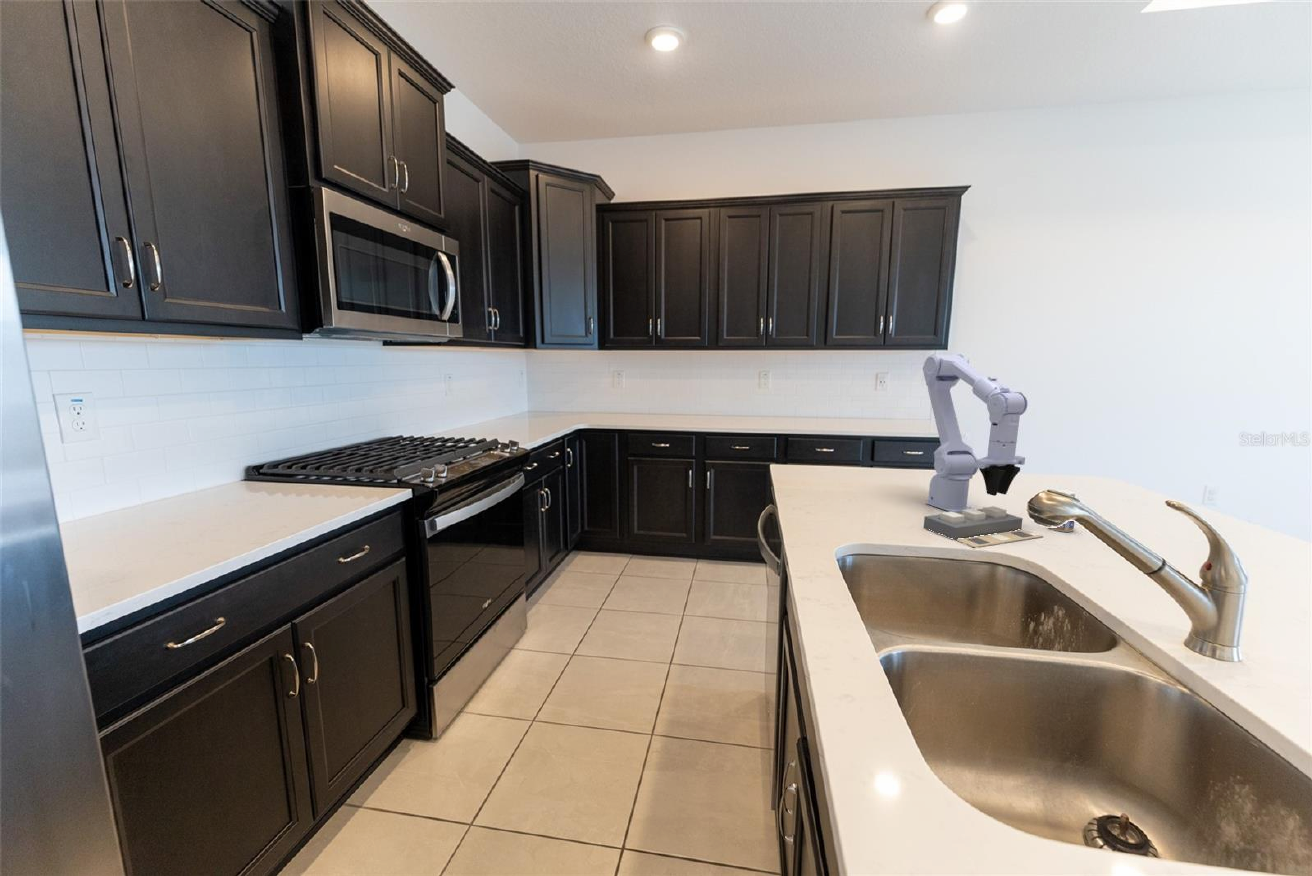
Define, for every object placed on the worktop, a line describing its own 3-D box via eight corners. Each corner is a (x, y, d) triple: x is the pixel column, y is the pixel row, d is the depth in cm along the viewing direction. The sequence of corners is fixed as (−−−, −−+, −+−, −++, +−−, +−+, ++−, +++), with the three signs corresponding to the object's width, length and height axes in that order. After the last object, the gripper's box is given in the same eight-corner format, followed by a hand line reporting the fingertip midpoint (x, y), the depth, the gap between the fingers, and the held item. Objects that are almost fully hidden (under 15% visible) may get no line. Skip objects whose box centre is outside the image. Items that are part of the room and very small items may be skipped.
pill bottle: (1064, 525, 134) (1069, 488, 132) (1078, 533, 129) (1084, 494, 127) (1041, 524, 134) (1046, 488, 133) (1055, 532, 129) (1060, 494, 127)
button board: (923, 527, 132) (924, 516, 131) (988, 518, 139) (989, 508, 138) (954, 540, 124) (955, 527, 123) (1021, 529, 131) (1022, 518, 130)
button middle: (961, 521, 132) (962, 510, 132) (971, 520, 133) (973, 508, 133) (973, 526, 129) (975, 514, 128) (984, 524, 130) (986, 513, 129)
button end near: (939, 524, 130) (940, 512, 129) (950, 523, 131) (952, 511, 130) (952, 529, 126) (953, 517, 126) (963, 527, 128) (964, 515, 127)
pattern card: (956, 540, 123) (956, 539, 123) (1023, 530, 130) (1023, 529, 130) (974, 548, 118) (974, 546, 118) (1043, 537, 126) (1043, 535, 126)
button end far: (981, 518, 134) (983, 507, 134) (992, 517, 136) (993, 506, 135) (994, 523, 131) (996, 511, 130) (1005, 521, 132) (1006, 510, 132)
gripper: (996, 445, 124) (989, 500, 126) (1039, 442, 128) (1032, 495, 131) (969, 440, 130) (964, 493, 133) (1012, 437, 135) (1005, 488, 137)
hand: (996, 494), depth 132 cm, fingers open, 3 cm apart
